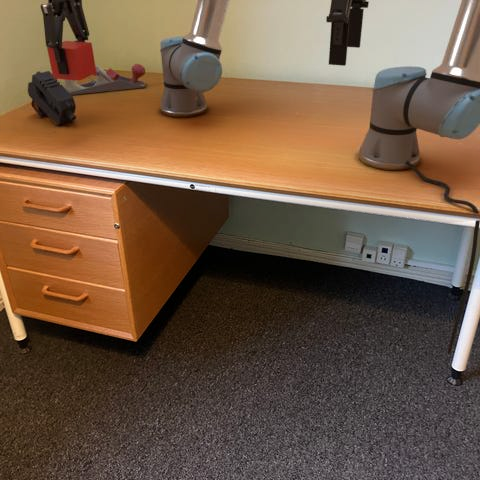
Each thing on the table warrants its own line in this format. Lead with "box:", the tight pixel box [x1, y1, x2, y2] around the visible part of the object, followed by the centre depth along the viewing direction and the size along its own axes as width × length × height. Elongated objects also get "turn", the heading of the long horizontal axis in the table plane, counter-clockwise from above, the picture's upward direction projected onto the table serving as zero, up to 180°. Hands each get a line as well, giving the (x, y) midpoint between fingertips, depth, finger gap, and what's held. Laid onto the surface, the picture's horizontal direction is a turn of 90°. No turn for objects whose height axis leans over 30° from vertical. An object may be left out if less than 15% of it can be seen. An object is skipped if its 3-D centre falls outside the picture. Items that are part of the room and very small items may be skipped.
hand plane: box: [62, 63, 146, 96], centre depth 194 cm, size 7×31×15 cm, turn 107°
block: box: [46, 40, 97, 82], centre depth 141 cm, size 8×8×8 cm
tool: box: [27, 70, 77, 126], centre depth 167 cm, size 6×19×15 cm, turn 51°
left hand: (74, 69), depth 142 cm, fingers closed on block, 8 cm apart
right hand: (345, 55), depth 92 cm, fingers open, 13 cm apart
